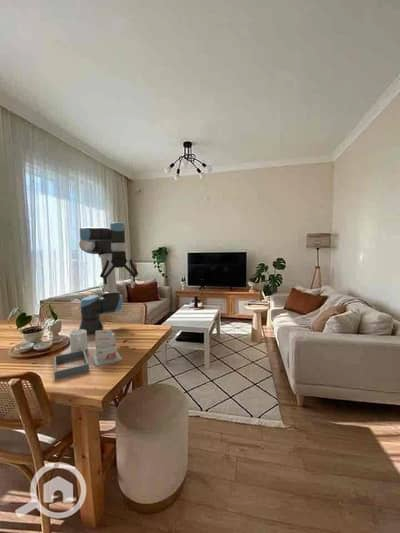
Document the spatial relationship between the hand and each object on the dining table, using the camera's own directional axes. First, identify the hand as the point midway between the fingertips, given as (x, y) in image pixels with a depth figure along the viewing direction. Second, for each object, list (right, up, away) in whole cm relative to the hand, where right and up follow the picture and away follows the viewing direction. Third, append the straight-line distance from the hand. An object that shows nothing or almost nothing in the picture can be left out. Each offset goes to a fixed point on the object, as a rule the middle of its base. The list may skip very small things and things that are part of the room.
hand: (120, 288), depth 139 cm
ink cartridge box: (-2, -33, -14) cm, 36 cm away
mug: (-21, -34, -4) cm, 40 cm away
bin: (-16, -35, -22) cm, 44 cm away
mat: (-2, -34, -14) cm, 37 cm away
